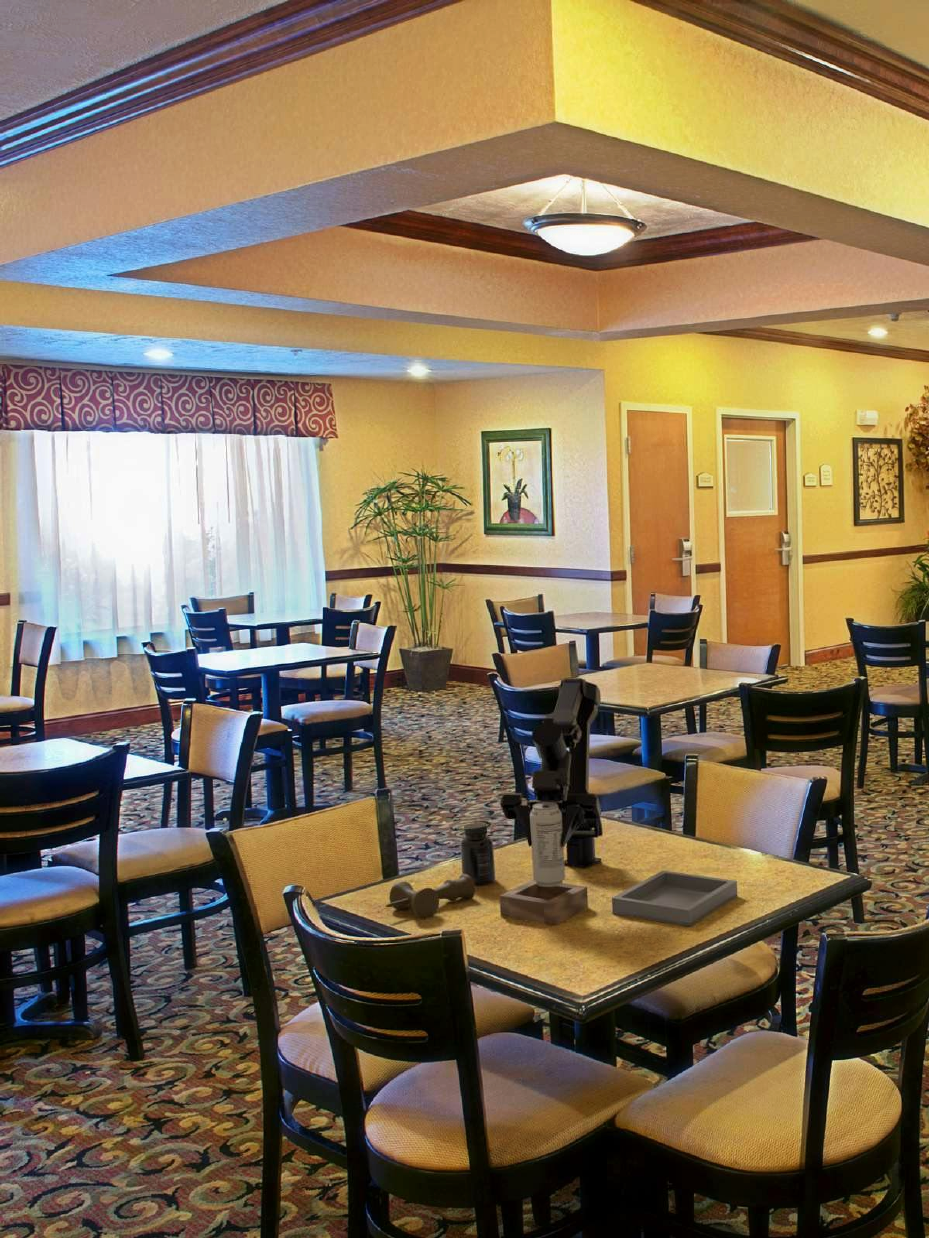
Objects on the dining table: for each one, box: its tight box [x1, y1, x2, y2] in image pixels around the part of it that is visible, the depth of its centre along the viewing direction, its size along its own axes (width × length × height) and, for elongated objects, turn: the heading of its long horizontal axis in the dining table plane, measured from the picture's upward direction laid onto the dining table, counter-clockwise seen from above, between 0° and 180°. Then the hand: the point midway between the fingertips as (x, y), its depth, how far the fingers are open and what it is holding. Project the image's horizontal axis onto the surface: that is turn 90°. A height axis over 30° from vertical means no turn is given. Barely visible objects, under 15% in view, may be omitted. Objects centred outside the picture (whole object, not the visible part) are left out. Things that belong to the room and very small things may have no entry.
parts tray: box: [611, 870, 738, 928], centre depth 237 cm, size 20×16×3 cm
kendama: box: [385, 874, 476, 920], centre depth 243 cm, size 6×10×20 cm
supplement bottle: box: [459, 822, 496, 887], centre depth 258 cm, size 7×7×12 cm
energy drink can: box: [530, 802, 566, 887], centre depth 236 cm, size 6×6×15 cm
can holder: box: [499, 879, 589, 927], centre depth 237 cm, size 12×12×4 cm
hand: (546, 845), depth 234 cm, fingers closed on energy drink can, 6 cm apart
